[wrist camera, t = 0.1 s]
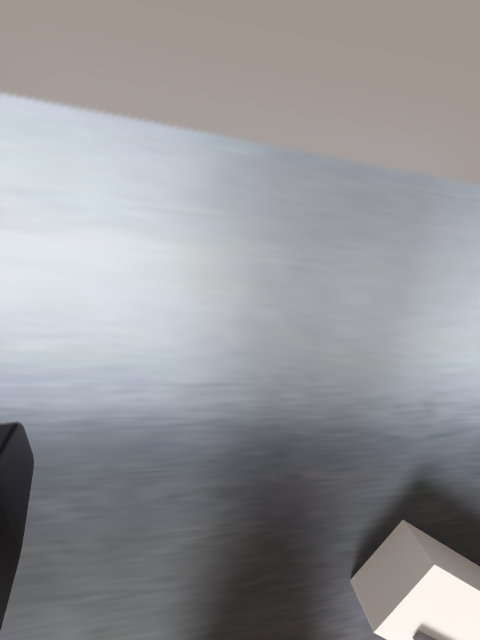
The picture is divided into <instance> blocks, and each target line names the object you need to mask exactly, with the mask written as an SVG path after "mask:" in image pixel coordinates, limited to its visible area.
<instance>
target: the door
mask: <svg viewBox="0 0 480 640" xmlns="http://www.w3.org/2000/svg"><path fill="white" fill-rule="evenodd" d="M350 582H351V584H352V587H353V589H354V591H355V593H356V595H357V597H358V600H359V602H360V604H361V606H362V608H363V611H364V613H365V615H366V617H367V619H368V621H369V624H370V626H371V628H372V630H373V632H374V633H375V634H377V635H379V636H381V637H383V638H385V639H387V640H480V566H478V565H476V564H475V563H473V562H471V561H470V560H468V559H467V558H465V557H463V556H462V555H460V554H458V553H457V552H455V551H453V550H452V549H450V548H449V547H447V546H445V545H444V544H442V543H440V542H439V541H437V540H435V539H434V538H432V537H431V536H429V535H427V534H426V533H424V532H422V531H421V530H419V529H417V528H416V527H414V526H413V525H411V524H409V523H408V522H406V521H404V520H402V521H401V522H400V523H399V525H398V526H397V527H396V528H395V529H394V530H393V531H392V533H391V534H390V535H389V536H388V537H387V538H386V540H385V541H384V542H383V543H382V544H381V545H380V546H379V548H378V549H377V550H376V551H375V552H374V553H373V555H372V556H371V557H370V558H369V559H368V560H367V561H366V563H365V564H364V565H363V566H362V567H361V568H360V570H359V571H358V572H357V573H356V574H355V575H354V576H353V578H352V579H351V580H350Z"/></svg>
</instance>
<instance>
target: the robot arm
mask: <svg viewBox="0 0 480 640" xmlns="http://www.w3.org/2000/svg"><path fill="white" fill-rule="evenodd" d="M33 468H34V458H33V453H32V450H31V447H30V444H29V441H28V438H27V435H26V432H25V429H24V426H23V425H22V424H21V423H20V422H7V423H0V630H1V626H2V622H3V619H4V615H5V611H6V607H7V604H8V600H9V596H10V592H11V588H12V585H13V581H14V577H15V573H16V570H17V566H18V562H19V557H20V553H21V549H22V543H23V537H24V530H25V523H26V516H27V509H28V503H29V496H30V489H31V482H32V475H33Z"/></svg>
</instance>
